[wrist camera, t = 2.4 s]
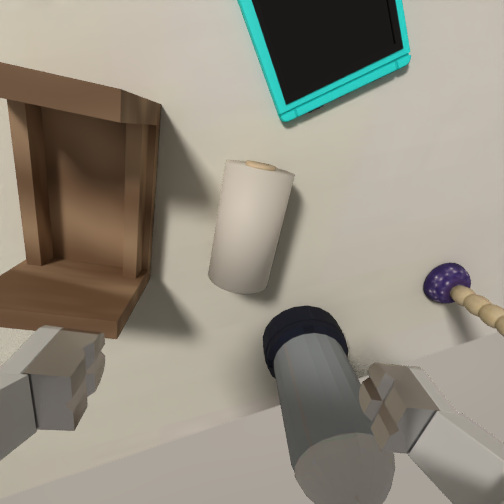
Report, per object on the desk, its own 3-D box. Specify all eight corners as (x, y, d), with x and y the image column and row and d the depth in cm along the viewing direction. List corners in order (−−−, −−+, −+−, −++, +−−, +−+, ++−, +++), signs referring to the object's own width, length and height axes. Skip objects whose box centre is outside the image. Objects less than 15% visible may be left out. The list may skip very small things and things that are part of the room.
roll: (248, 264, 27) (278, 292, 23) (198, 268, 24) (223, 300, 20) (270, 162, 23) (310, 175, 19) (214, 153, 20) (248, 166, 17)
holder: (149, 279, 25) (116, 339, 18) (42, 264, 24) (-40, 322, 17) (161, 104, 20) (120, 89, 13) (23, 74, 19) (-110, 37, 11)
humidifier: (270, 374, 31) (380, 1046, 8) (255, 316, 28) (364, 1162, 5) (342, 358, 31) (657, 1002, 8) (335, 297, 28) (831, 1094, 5)
